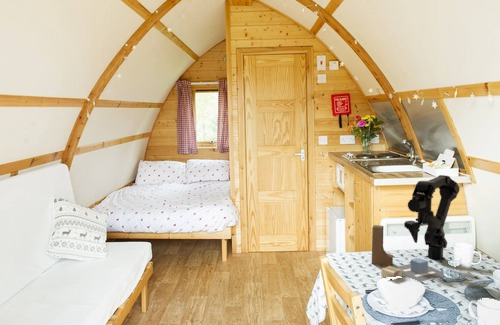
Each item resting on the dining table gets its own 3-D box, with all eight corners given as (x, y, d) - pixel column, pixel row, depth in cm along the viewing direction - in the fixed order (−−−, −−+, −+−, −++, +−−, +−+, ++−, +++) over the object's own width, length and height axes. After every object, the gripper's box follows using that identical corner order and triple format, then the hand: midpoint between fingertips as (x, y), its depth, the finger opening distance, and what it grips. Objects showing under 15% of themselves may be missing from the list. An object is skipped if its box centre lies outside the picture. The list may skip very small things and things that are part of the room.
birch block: (389, 274, 193) (390, 265, 192) (401, 278, 188) (401, 269, 188) (381, 277, 189) (381, 268, 189) (392, 281, 185) (393, 272, 184)
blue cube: (419, 268, 198) (419, 258, 197) (427, 272, 193) (428, 261, 193) (410, 270, 196) (410, 259, 195) (419, 274, 191) (419, 263, 191)
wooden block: (392, 264, 206) (393, 226, 204) (391, 267, 201) (392, 229, 199) (373, 261, 209) (373, 224, 207) (371, 264, 205) (372, 227, 203)
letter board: (419, 262, 206) (419, 262, 206) (450, 275, 190) (450, 275, 190) (389, 268, 200) (389, 267, 199) (418, 282, 183) (418, 281, 183)
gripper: (422, 214, 191) (420, 248, 192) (453, 210, 198) (452, 243, 200) (403, 209, 201) (403, 242, 203) (434, 205, 208) (433, 237, 210)
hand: (423, 241), depth 203 cm, fingers open, 9 cm apart
